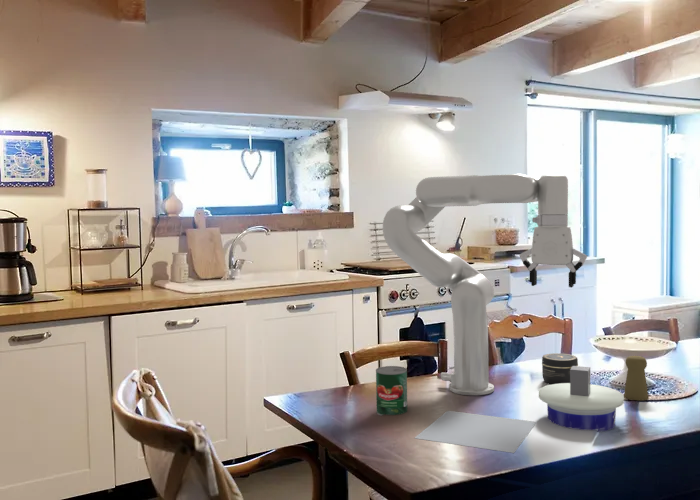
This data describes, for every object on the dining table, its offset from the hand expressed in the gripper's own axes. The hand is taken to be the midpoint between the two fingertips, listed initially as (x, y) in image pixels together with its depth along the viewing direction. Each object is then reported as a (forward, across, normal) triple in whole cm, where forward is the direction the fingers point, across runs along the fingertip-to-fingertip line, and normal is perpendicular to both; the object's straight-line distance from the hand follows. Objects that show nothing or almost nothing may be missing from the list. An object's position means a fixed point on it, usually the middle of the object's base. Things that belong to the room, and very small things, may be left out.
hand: (552, 286), depth 175 cm
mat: (+30, -9, -36) cm, 47 cm away
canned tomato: (+31, -33, -30) cm, 54 cm away
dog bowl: (+31, +11, -18) cm, 37 cm away
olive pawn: (+30, +20, +9) cm, 37 cm away
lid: (+24, +10, -18) cm, 32 cm away
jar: (+30, -1, +17) cm, 35 cm away
